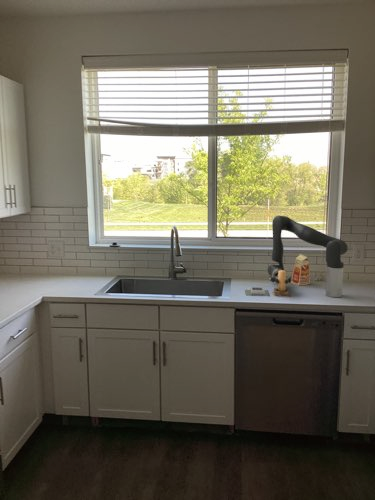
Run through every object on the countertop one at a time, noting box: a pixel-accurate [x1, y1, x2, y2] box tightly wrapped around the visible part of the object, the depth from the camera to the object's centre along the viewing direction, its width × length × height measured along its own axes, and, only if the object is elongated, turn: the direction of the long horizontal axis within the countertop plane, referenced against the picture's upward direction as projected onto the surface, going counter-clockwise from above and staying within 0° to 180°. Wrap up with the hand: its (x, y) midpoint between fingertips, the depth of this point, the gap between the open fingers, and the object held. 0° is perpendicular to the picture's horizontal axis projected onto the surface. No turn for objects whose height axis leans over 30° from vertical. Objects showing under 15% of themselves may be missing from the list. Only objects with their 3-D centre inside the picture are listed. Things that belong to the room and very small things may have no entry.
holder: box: [271, 287, 292, 298], centre depth 246 cm, size 10×10×4 cm
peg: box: [277, 269, 287, 292], centre depth 245 cm, size 4×4×14 cm
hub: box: [244, 286, 271, 297], centre depth 249 cm, size 14×14×4 cm
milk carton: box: [290, 253, 311, 286], centre depth 275 cm, size 9×9×20 cm
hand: (282, 282), depth 242 cm, fingers closed on peg, 4 cm apart
